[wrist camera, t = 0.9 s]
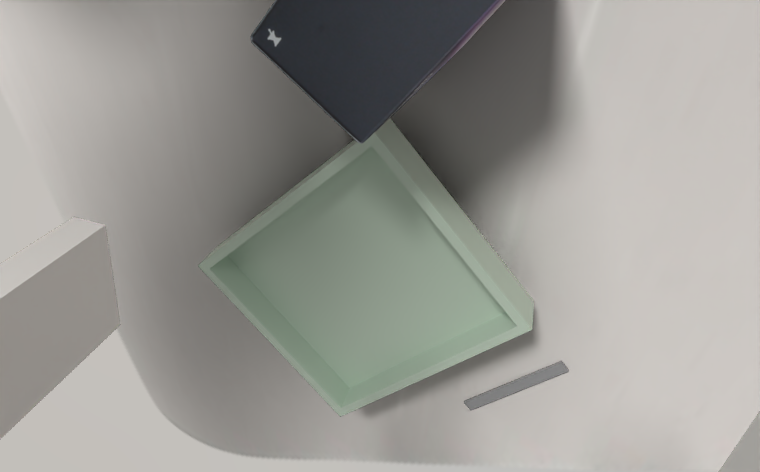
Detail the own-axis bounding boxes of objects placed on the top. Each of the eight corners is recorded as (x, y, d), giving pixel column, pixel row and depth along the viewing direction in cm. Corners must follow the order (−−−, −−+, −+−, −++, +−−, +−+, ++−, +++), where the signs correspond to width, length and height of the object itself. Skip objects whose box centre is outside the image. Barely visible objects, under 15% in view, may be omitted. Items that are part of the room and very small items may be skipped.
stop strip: (464, 400, 42) (463, 402, 42) (561, 360, 38) (561, 362, 38) (470, 408, 42) (470, 410, 42) (568, 369, 38) (568, 371, 38)
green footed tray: (230, 233, 40) (197, 265, 36) (393, 106, 33) (372, 130, 29) (359, 374, 43) (340, 416, 40) (535, 287, 36) (532, 329, 32)
